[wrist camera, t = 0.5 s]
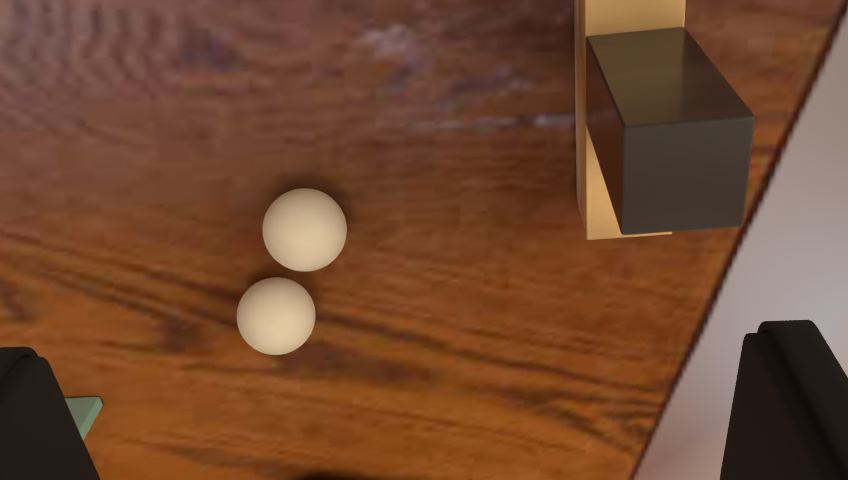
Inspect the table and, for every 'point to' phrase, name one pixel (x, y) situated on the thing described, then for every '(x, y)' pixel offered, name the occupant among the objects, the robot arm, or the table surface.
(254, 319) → the crumb
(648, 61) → the brush
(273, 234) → the crumb
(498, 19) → the table surface
